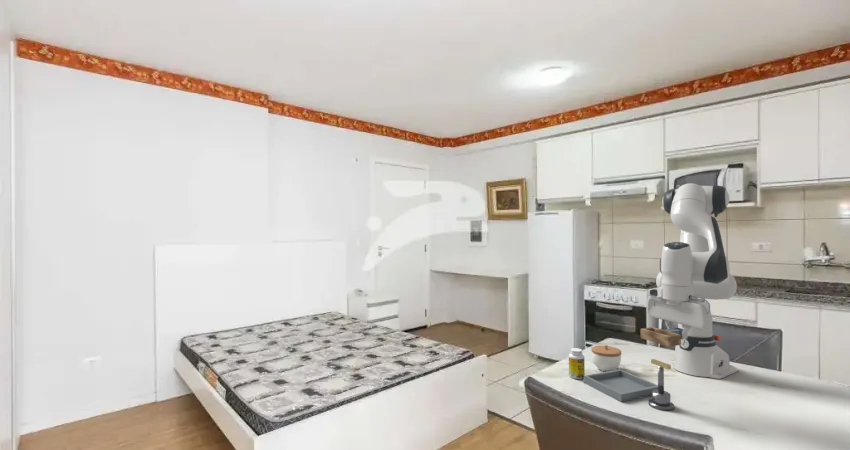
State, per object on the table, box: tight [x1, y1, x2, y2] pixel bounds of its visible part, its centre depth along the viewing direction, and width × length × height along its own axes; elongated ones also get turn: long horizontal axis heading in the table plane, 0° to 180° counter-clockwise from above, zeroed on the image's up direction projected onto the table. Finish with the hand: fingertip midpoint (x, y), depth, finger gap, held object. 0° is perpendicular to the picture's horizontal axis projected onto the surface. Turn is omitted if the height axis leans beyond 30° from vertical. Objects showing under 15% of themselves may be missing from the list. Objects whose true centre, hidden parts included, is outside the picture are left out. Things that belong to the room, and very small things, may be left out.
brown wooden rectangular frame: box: [640, 326, 683, 348], centre depth 129 cm, size 10×12×3 cm
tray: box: [583, 369, 658, 403], centre depth 141 cm, size 17×17×2 cm
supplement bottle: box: [568, 347, 586, 380], centre depth 152 cm, size 6×6×10 cm
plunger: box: [648, 358, 675, 412], centre depth 128 cm, size 7×7×14 cm
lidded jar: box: [590, 344, 622, 372], centre depth 159 cm, size 11×11×9 cm
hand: (677, 336), depth 130 cm, fingers closed on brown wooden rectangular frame, 2 cm apart
